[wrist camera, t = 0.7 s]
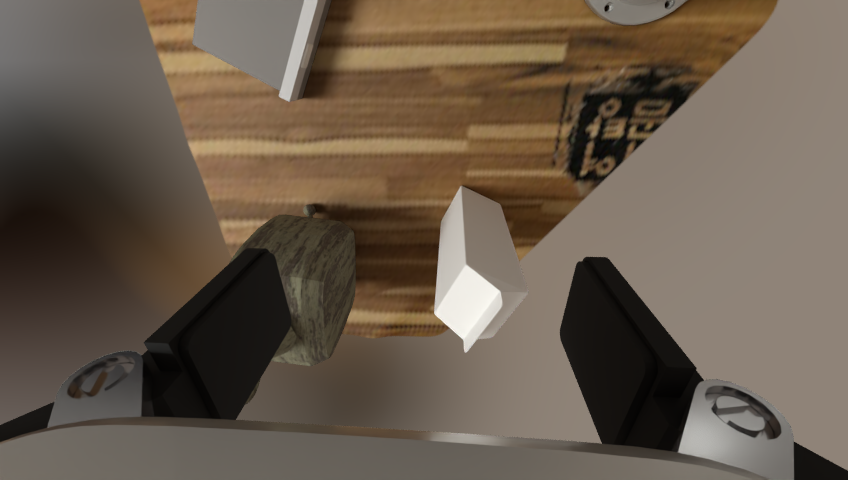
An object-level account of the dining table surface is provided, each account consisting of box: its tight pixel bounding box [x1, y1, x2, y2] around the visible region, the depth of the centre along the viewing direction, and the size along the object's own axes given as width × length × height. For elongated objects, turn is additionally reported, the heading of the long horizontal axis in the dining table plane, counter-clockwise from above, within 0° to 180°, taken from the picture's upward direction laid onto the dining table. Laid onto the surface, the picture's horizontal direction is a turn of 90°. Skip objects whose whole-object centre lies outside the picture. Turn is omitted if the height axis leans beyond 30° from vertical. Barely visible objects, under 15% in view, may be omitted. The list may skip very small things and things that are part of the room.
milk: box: [434, 186, 529, 352], centre depth 35 cm, size 6×6×22 cm
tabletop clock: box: [229, 205, 356, 404], centre depth 38 cm, size 14×9×25 cm, turn 175°
